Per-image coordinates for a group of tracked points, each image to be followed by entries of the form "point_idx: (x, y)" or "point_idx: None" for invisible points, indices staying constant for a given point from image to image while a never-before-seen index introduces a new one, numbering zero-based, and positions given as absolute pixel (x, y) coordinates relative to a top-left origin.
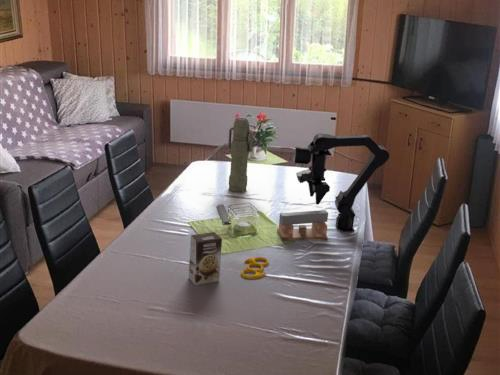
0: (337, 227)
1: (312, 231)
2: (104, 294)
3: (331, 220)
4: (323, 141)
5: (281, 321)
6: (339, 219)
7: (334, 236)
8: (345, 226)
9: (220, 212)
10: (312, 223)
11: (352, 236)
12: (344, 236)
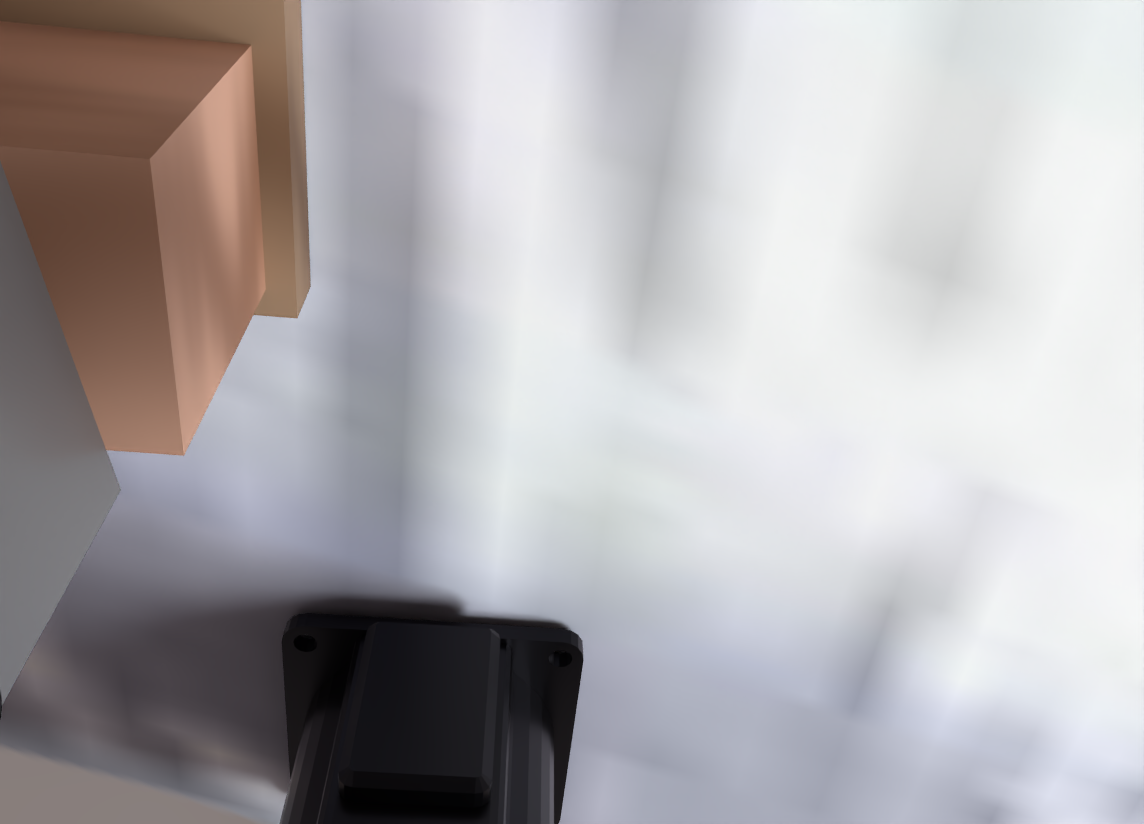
0: (371, 630)
1: (62, 7)
2: None
3: (824, 641)
4: None
5: None
6: (341, 791)
7: None
8: (295, 761)
9: None
10: (157, 96)
11: (80, 718)
12: (60, 610)
